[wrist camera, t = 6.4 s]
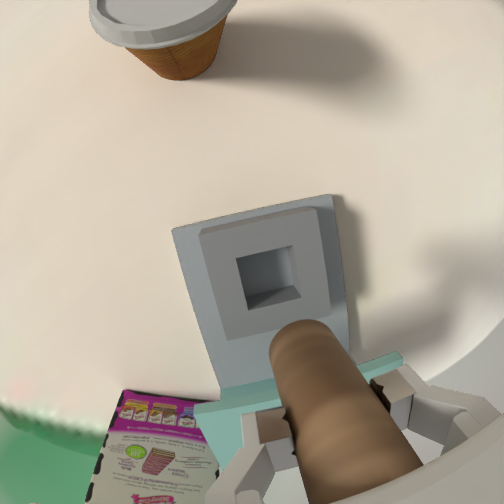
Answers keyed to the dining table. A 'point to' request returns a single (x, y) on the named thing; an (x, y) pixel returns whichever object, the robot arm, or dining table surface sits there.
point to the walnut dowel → (334, 416)
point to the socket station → (261, 302)
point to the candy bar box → (153, 454)
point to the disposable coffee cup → (164, 31)
